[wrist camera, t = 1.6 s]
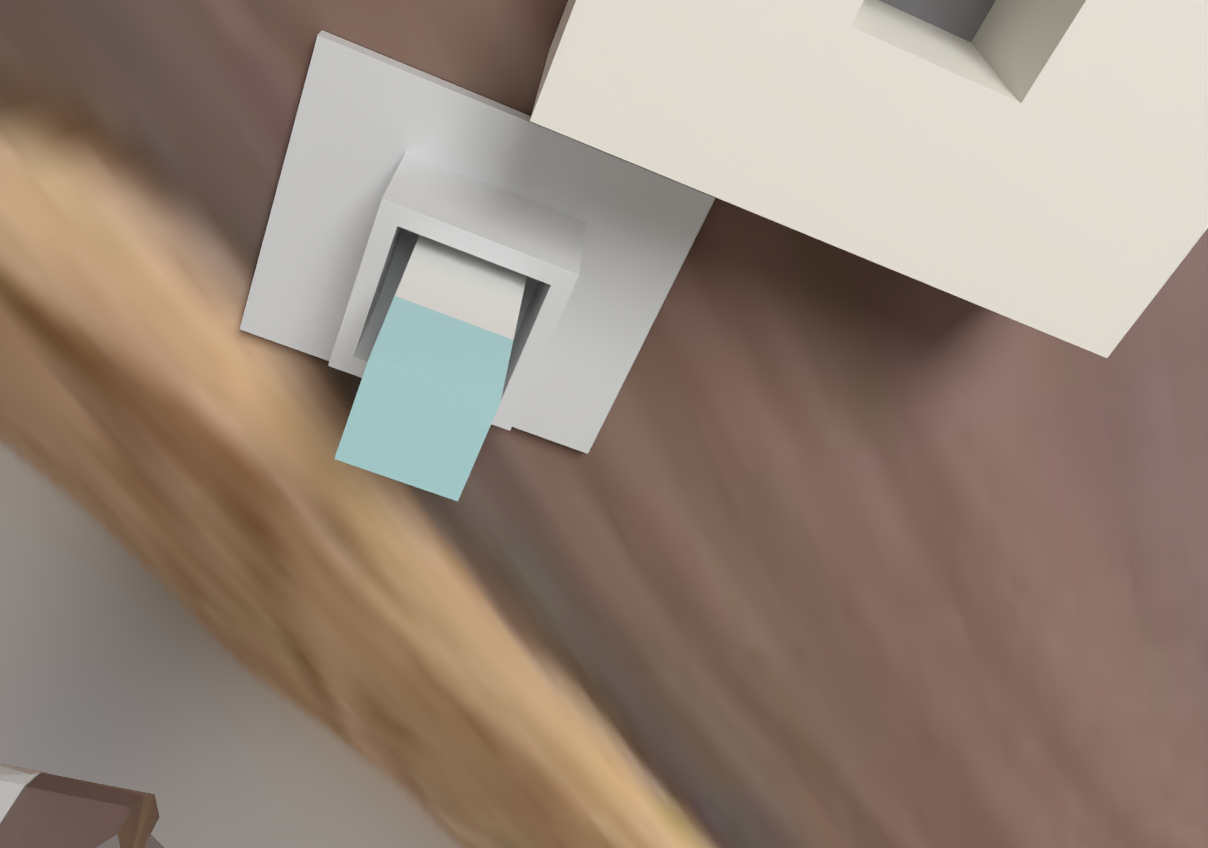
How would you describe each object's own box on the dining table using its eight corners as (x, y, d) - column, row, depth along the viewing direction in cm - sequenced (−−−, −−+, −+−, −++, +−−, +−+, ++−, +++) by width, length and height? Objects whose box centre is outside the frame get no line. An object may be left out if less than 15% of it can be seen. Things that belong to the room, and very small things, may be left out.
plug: (401, 290, 36) (334, 459, 28) (433, 202, 34) (369, 355, 26) (498, 327, 36) (457, 501, 29) (534, 241, 34) (500, 402, 27)
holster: (244, 321, 37) (203, 387, 34) (322, 30, 32) (282, 73, 28) (588, 445, 39) (582, 518, 36) (714, 191, 34) (720, 249, 31)
